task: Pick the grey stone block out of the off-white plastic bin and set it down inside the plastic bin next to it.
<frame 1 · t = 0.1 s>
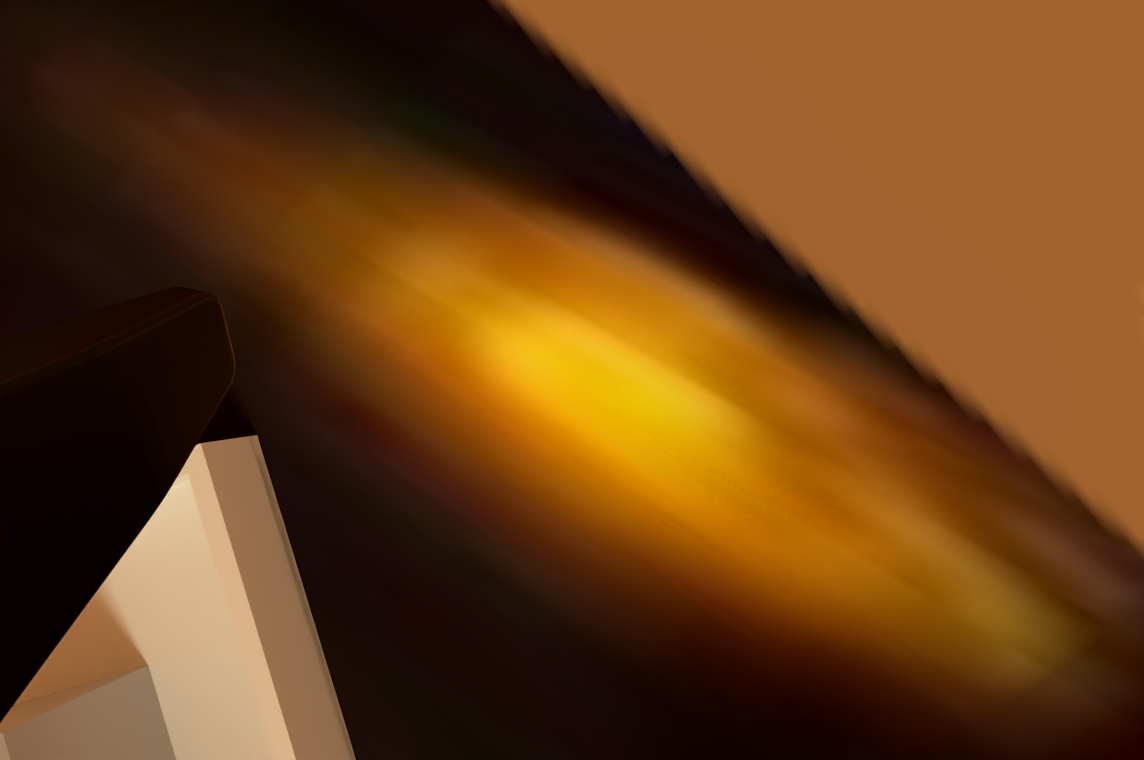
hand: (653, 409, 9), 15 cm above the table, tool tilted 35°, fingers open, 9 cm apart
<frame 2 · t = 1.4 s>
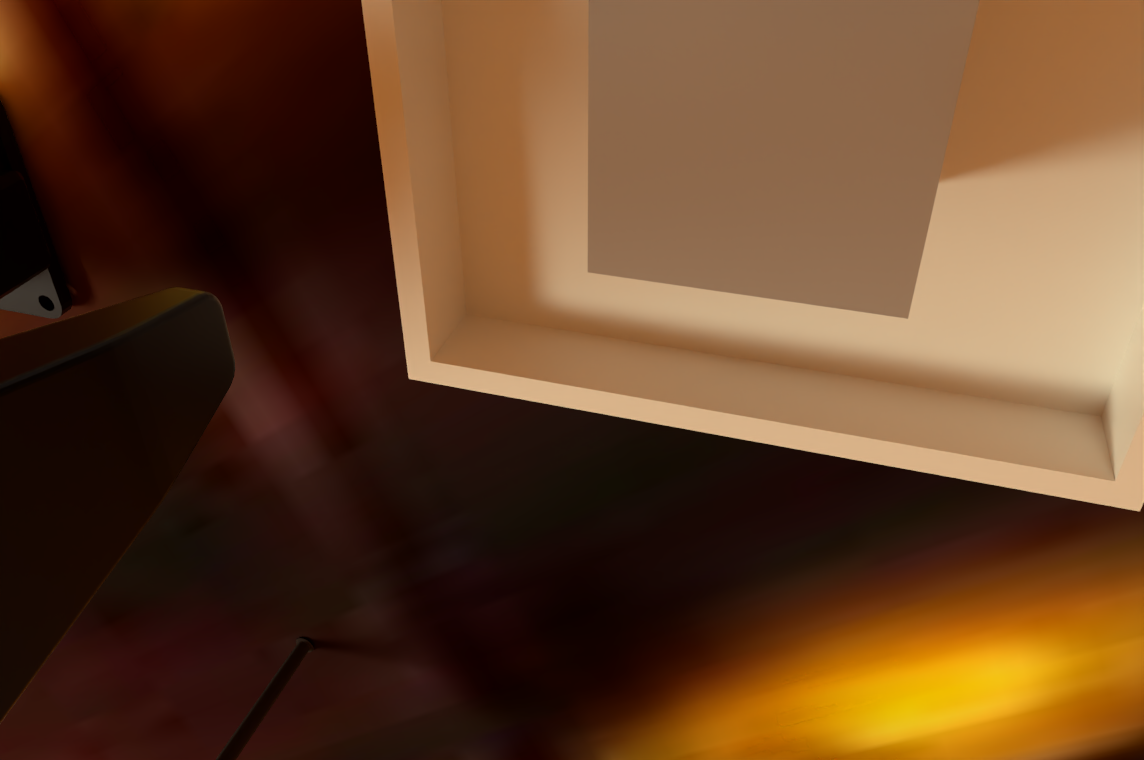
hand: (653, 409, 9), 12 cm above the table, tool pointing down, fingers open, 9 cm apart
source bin: (801, 35, 18), on the table
lollipop: (304, 638, 34), on the table
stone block: (798, 41, 18), resting on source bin
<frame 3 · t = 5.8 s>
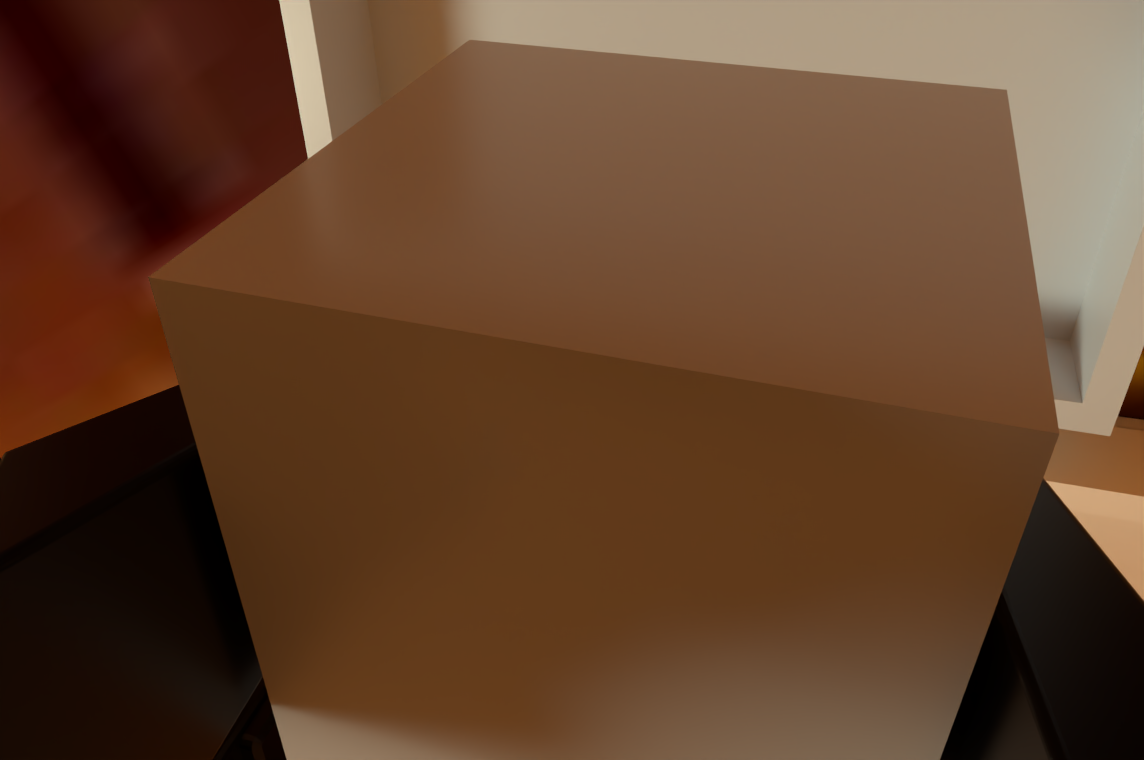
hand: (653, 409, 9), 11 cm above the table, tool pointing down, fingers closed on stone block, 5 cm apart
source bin: (987, 656, 24), on the table
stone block: (699, 296, 10), point 9 cm above the table, touching gripper
when the fingers open (4 cm above the table, at t = 8.1 s): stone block drops 1 cm, resting on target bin.
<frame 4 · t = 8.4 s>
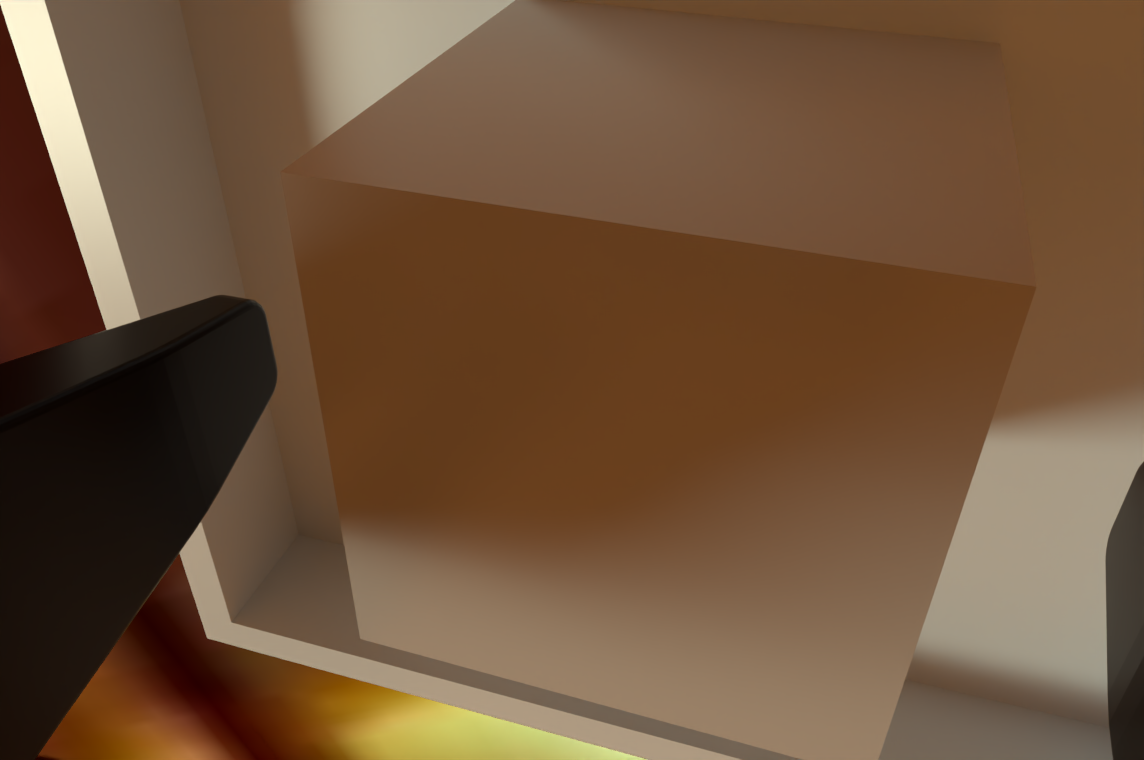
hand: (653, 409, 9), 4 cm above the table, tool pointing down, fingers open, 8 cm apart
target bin: (730, 219, 12), on the table
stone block: (721, 234, 12), resting on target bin
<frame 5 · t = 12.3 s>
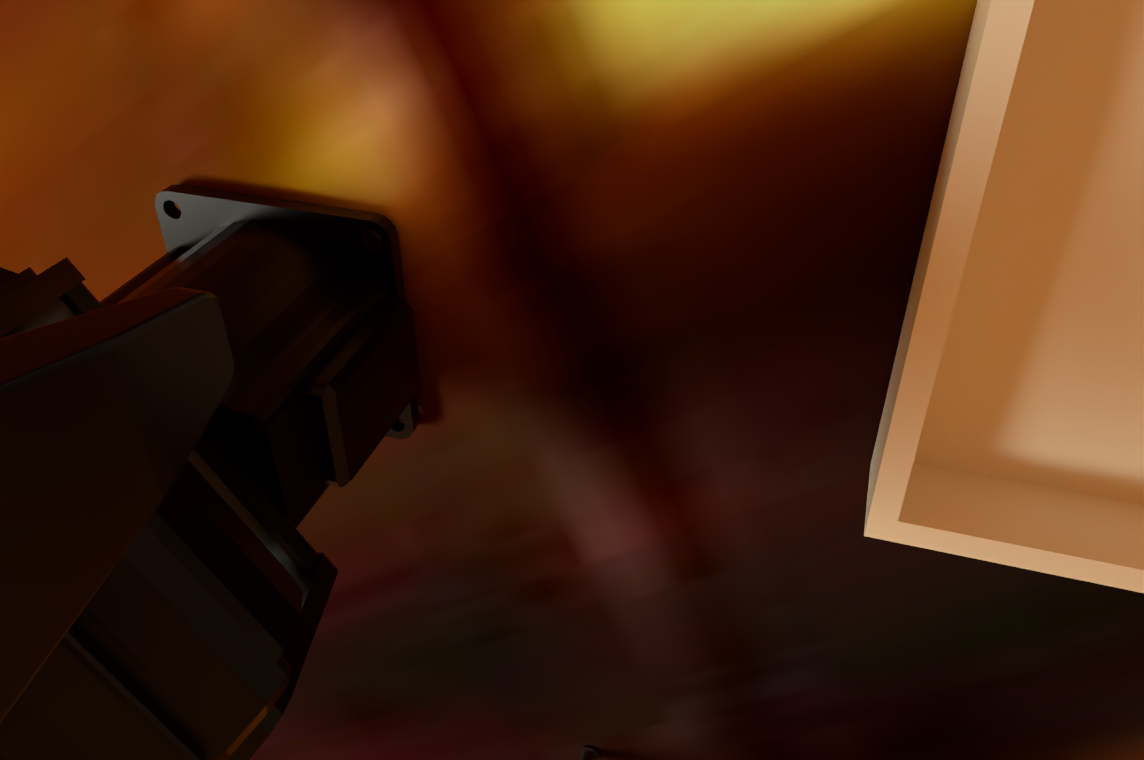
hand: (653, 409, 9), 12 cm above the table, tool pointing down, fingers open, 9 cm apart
lollipop: (587, 745, 33), on the table
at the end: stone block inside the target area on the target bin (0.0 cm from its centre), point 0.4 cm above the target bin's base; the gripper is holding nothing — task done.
